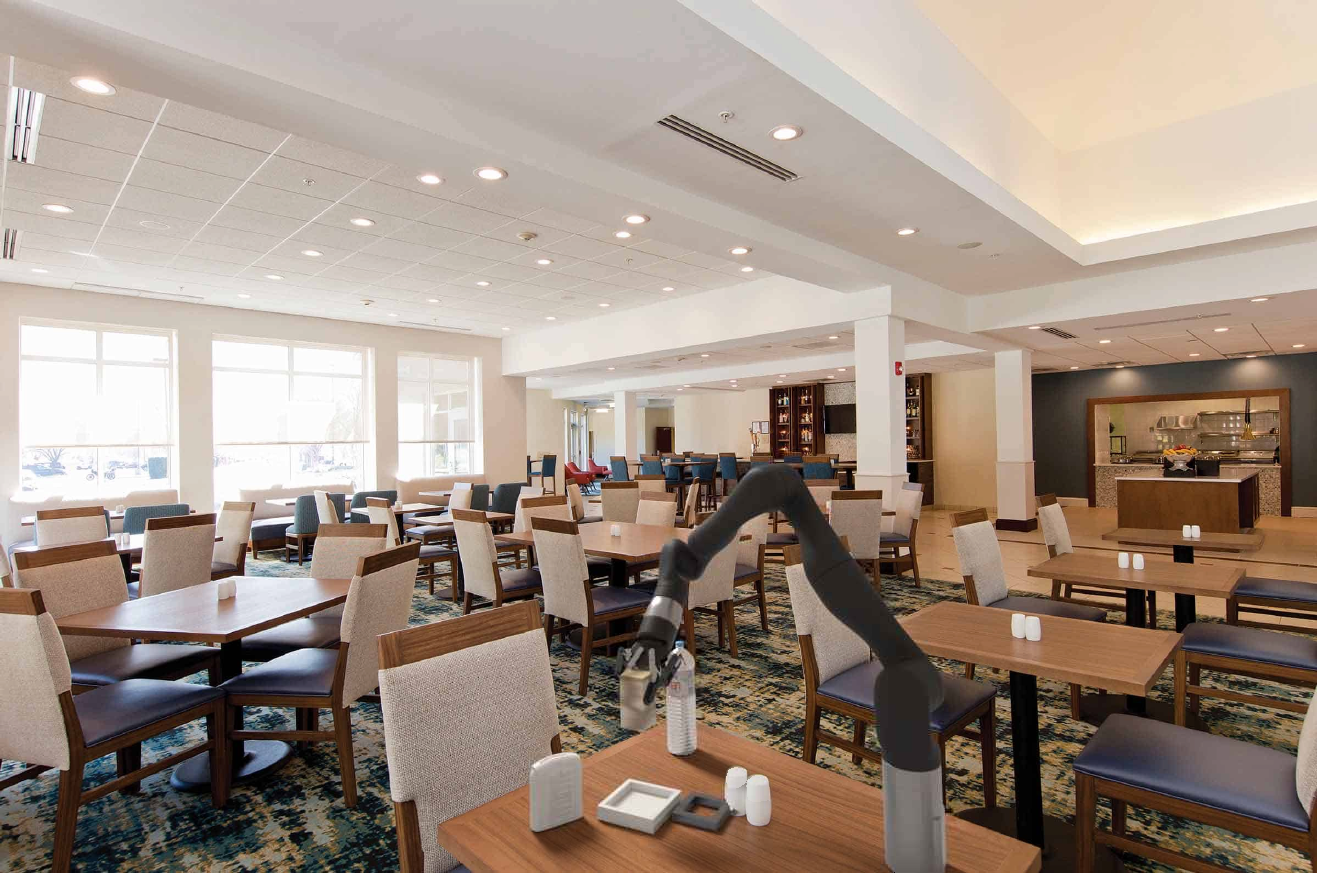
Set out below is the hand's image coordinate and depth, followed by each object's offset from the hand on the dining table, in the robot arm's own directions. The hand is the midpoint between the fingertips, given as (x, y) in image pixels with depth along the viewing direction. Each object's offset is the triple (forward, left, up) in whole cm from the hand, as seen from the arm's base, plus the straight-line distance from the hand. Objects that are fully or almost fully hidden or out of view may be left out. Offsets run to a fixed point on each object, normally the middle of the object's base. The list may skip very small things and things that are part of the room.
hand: (633, 701), depth 130 cm
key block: (0, -2, -5) cm, 6 cm away
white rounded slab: (+12, +8, -22) cm, 27 cm away
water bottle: (+4, -30, -22) cm, 37 cm away
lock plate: (-12, -6, -22) cm, 25 cm away
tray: (0, -2, -22) cm, 22 cm away
